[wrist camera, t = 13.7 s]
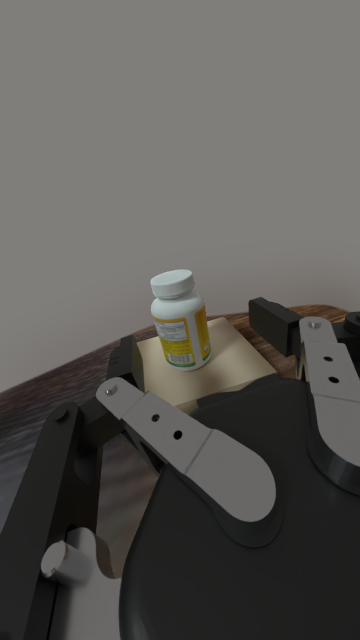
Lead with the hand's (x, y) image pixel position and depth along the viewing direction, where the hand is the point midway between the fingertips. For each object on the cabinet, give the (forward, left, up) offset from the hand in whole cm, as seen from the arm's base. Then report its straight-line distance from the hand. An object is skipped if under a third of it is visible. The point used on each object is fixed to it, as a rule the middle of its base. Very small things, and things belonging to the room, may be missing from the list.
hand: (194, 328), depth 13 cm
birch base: (0, +7, -11) cm, 13 cm away
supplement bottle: (0, +7, -8) cm, 10 cm away
